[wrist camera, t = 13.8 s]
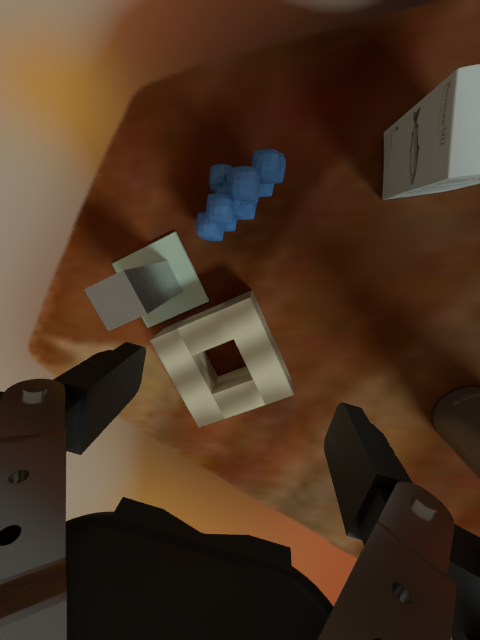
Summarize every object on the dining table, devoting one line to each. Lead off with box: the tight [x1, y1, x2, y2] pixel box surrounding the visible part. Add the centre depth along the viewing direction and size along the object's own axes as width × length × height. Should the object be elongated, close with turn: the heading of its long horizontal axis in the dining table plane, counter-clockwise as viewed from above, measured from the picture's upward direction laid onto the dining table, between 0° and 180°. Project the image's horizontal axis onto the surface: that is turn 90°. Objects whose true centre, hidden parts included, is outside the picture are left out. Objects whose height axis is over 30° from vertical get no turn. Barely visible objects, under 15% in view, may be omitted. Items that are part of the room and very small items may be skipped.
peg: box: [84, 261, 183, 331], centre depth 32 cm, size 4×4×12 cm
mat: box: [112, 232, 209, 328], centre depth 38 cm, size 10×10×1 cm
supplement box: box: [382, 64, 480, 200], centre depth 25 cm, size 7×7×13 cm
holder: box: [150, 290, 294, 427], centre depth 38 cm, size 14×14×5 cm
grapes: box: [196, 149, 286, 241], centre depth 28 cm, size 12×7×12 cm, turn 131°
